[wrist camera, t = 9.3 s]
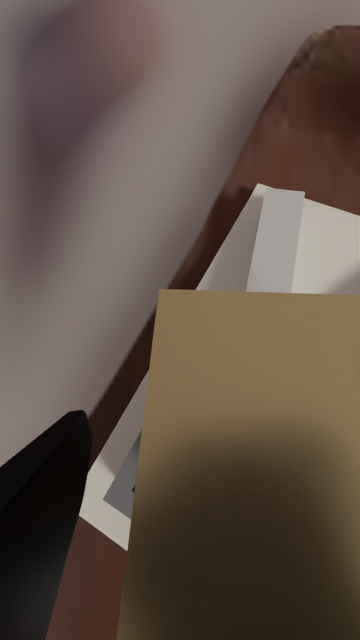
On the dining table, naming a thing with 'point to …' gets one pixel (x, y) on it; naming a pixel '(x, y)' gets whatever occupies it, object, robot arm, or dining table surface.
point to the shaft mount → (246, 276)
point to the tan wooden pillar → (248, 471)
